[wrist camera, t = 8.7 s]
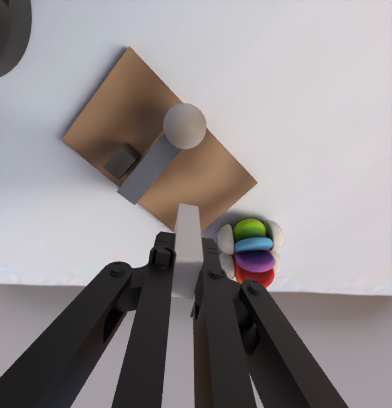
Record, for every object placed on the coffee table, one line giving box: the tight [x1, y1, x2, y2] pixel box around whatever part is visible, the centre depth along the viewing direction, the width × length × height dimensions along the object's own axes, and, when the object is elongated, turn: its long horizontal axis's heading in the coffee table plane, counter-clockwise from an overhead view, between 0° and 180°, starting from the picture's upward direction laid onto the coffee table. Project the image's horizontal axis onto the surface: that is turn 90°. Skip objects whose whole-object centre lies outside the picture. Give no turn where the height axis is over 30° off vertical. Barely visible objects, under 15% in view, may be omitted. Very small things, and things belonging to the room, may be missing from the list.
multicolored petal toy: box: [217, 219, 284, 288], centre depth 28 cm, size 8×10×7 cm
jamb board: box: [62, 46, 258, 233], centre depth 24 cm, size 20×13×5 cm, turn 46°
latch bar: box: [117, 133, 182, 205], centre depth 24 cm, size 8×2×3 cm, turn 139°
